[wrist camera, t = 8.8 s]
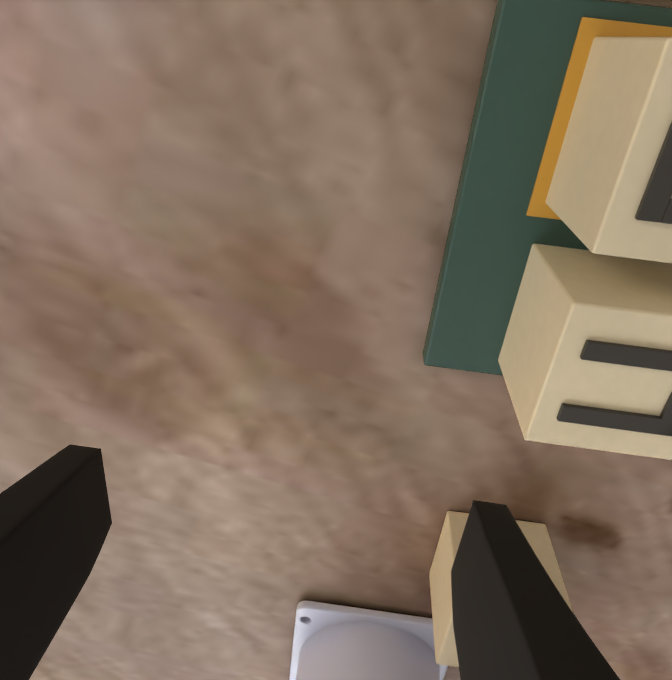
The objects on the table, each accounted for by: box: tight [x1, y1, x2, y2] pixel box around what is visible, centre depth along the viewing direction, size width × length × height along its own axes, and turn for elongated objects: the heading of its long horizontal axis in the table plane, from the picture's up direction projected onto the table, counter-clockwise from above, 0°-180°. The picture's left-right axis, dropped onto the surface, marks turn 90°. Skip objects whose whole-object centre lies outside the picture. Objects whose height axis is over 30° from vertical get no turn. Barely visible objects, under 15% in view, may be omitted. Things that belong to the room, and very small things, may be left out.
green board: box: [423, 0, 672, 375], centre depth 16 cm, size 11×9×1 cm
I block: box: [429, 511, 574, 667], centre depth 22 cm, size 4×4×4 cm
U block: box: [498, 244, 672, 460], centre depth 15 cm, size 4×4×4 cm
